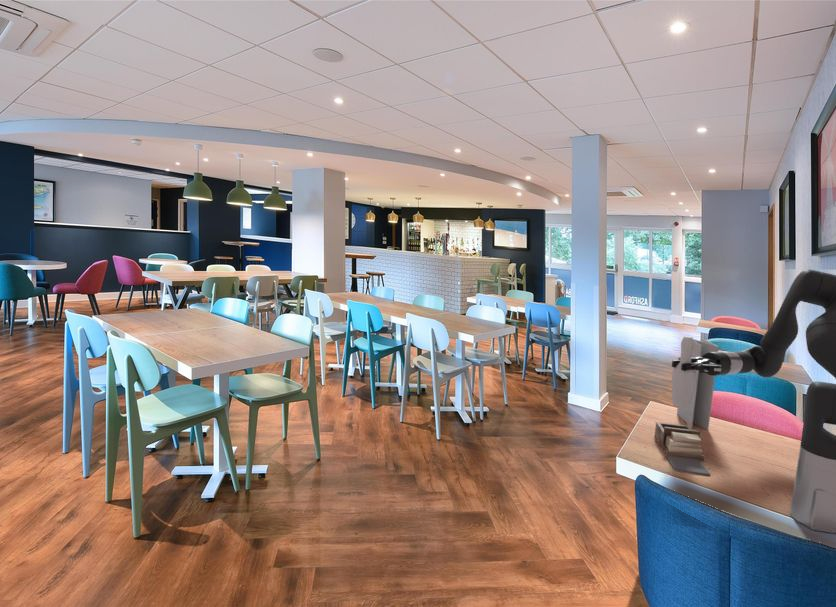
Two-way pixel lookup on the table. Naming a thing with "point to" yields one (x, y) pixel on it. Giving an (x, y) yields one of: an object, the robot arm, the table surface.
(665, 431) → the offcut rack
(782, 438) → the table surface
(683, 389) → the low poly bottle
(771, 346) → the robot arm
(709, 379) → the brochure
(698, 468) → the mat
